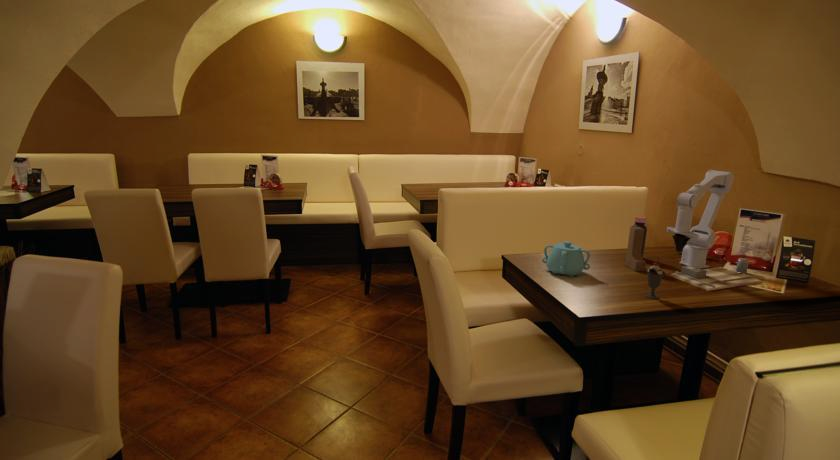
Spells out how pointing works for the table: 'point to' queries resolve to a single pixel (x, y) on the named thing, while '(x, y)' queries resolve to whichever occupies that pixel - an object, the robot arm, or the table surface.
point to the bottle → (641, 222)
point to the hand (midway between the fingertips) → (679, 251)
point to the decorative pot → (566, 259)
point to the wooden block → (635, 249)
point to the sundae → (654, 279)
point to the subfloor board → (717, 279)
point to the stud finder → (694, 272)
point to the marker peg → (742, 265)
